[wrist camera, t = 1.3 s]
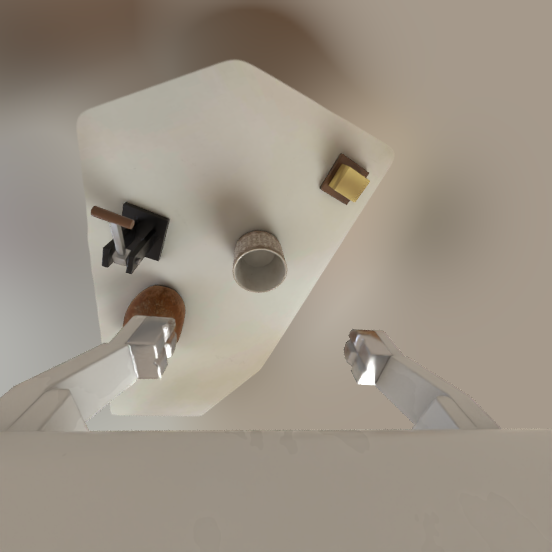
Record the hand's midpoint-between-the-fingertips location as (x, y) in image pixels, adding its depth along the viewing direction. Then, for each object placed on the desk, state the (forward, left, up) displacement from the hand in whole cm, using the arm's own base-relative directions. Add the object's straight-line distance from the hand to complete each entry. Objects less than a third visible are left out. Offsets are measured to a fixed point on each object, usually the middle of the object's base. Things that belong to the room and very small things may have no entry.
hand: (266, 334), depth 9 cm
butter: (-8, +20, -43) cm, 48 cm away
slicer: (+24, -17, -43) cm, 52 cm away
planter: (+17, +10, -43) cm, 47 cm away
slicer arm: (+18, -17, -30) cm, 39 cm away
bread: (+52, -9, -43) cm, 68 cm away
